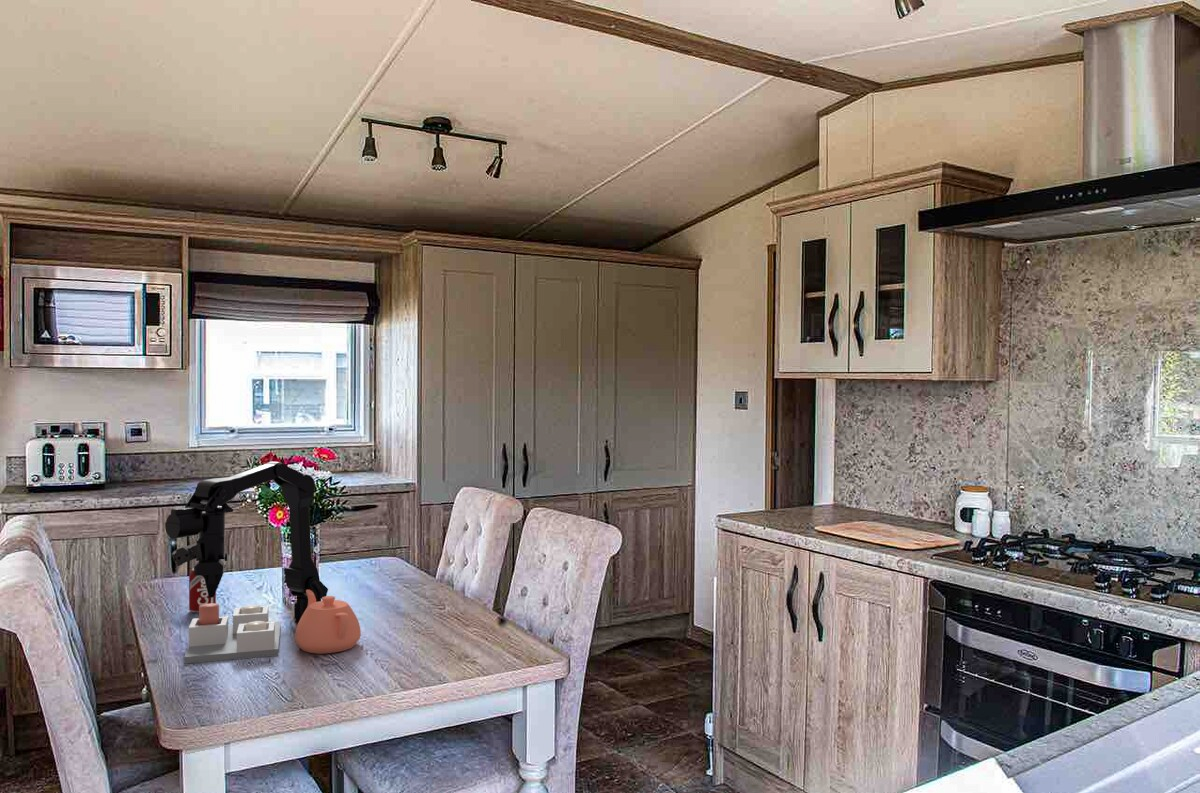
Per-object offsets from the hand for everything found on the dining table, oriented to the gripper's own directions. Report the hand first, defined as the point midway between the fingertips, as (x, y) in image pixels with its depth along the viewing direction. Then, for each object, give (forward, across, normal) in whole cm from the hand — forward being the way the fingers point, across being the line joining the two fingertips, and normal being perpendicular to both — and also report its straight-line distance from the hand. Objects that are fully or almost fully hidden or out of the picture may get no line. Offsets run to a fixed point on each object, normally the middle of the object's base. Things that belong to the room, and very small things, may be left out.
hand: (211, 597), depth 208 cm
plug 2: (+10, +8, +10) cm, 16 cm away
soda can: (+12, -36, -5) cm, 38 cm away
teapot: (+12, +8, +26) cm, 30 cm away
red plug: (+7, -1, -1) cm, 7 cm away
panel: (+12, -1, +6) cm, 13 cm away
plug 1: (+10, -8, +9) cm, 16 cm away
